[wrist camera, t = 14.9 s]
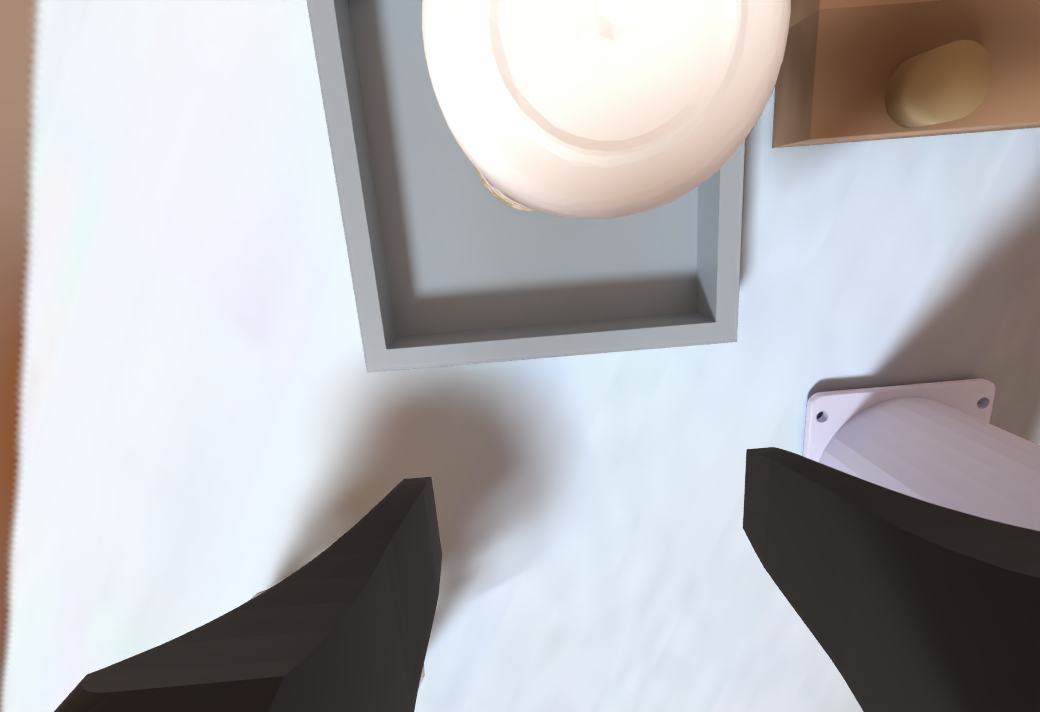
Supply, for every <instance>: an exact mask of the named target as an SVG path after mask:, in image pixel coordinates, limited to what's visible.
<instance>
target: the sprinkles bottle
mask: <svg viewBox="0 0 1040 712" xmlns="http://www.w3.org/2000/svg"><path fill="white" fill-rule="evenodd" d="M790 14H791V0H422V32H423V42H424V51H425V56H426V61H427V66H428V70H429V75H430V78H431V82H432V85H433V88H434V92H435V94H436V97H437V100H438V103H439V106H440V108H441V110H442V113H443V115H444V117H445V120H446V122H447V124H448V127H449V129H450V130H451V132H452V134H453V135H454V137H455V139H456V141H457V142H458V144H459V145H460V147H461V148H462V150H463V151H464V153H465V154H466V156H467V157H468V158H469V160H470V161H471V162H472V163H473V165H474V166H475V169H476V171H477V173H478V175H479V177H480V178H481V181H482V183H483V184H484V186H485V187H486V188H487V189H488V190H489V192H490V193H491V194H492V195H494V196H495V197H496V198H497V199H498V200H500V201H501V202H503V203H504V204H506V205H508V206H510V207H512V208H514V209H517V210H521V211H531V212H539V211H541V212H544V213H547V214H551V215H556V216H561V217H566V218H577V219H612V218H619V217H626V216H630V215H635V214H639V213H643V212H646V211H649V210H652V209H655V208H658V207H660V206H663V205H665V204H667V203H670V202H672V201H674V200H676V199H678V198H680V197H681V196H683V195H685V194H687V193H688V192H690V191H691V190H693V189H694V188H696V187H697V186H699V185H700V184H701V183H703V182H704V181H705V180H707V179H708V178H709V177H711V176H712V175H713V174H714V173H715V172H716V171H717V170H718V169H719V168H721V167H722V166H723V165H724V164H725V163H726V162H727V161H728V160H729V159H730V157H731V156H732V155H733V154H734V153H735V152H736V151H737V149H738V148H739V147H740V146H741V144H742V143H743V142H744V140H745V139H746V137H747V136H748V134H749V133H750V131H751V130H752V128H753V127H754V125H755V123H756V122H757V120H758V119H759V117H760V115H761V113H762V111H763V109H764V107H765V105H766V103H767V102H768V100H769V98H770V96H771V94H772V92H773V89H774V86H775V84H776V81H777V78H778V74H779V70H780V66H781V64H782V62H783V57H784V52H785V47H786V42H787V36H788V30H789V22H790Z"/></svg>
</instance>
